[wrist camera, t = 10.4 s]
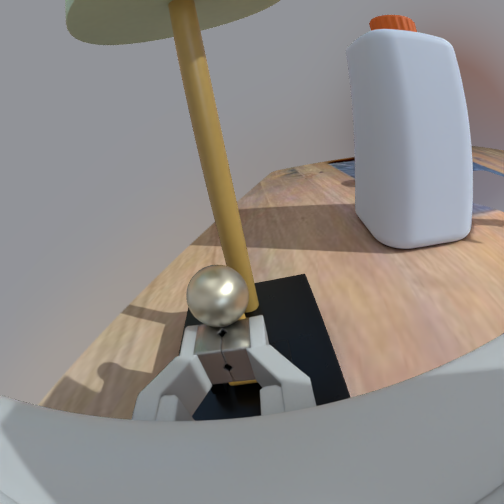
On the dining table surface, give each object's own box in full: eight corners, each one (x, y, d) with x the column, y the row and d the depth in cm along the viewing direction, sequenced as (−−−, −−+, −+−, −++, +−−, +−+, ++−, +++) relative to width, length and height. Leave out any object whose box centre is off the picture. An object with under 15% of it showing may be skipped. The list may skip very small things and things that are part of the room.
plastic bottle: (429, 201, 39) (413, 37, 27) (480, 240, 26) (469, 18, 13) (348, 210, 42) (323, 32, 29) (383, 258, 28) (351, -5, 15)
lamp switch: (275, 387, 14) (248, 296, 8) (232, 393, 14) (171, 308, 8) (270, 353, 16) (242, 245, 10) (230, 359, 16) (177, 258, 10)
